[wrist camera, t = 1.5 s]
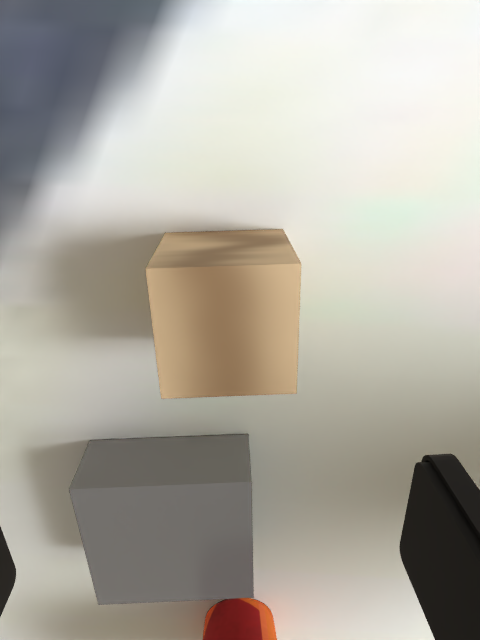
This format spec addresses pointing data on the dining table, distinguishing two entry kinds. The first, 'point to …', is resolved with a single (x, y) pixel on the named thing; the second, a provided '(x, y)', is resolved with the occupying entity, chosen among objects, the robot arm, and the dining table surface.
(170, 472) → the slate pedestal
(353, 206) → the dining table surface
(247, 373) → the oak cube
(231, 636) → the paper cup
